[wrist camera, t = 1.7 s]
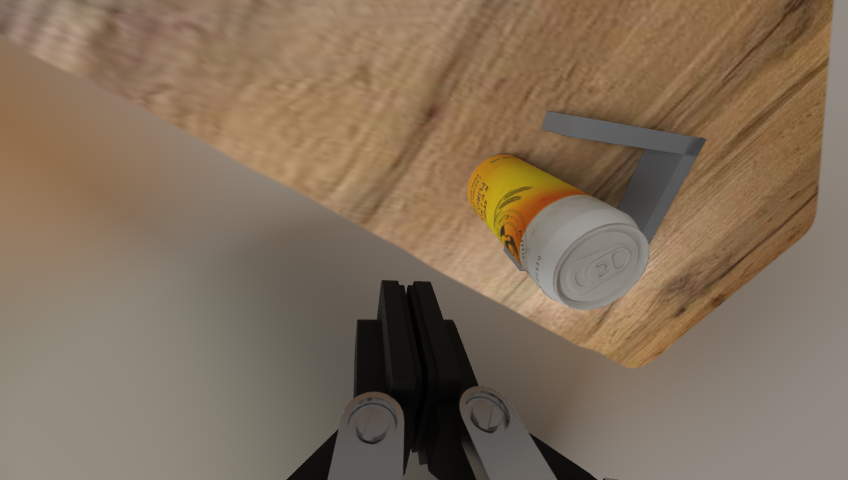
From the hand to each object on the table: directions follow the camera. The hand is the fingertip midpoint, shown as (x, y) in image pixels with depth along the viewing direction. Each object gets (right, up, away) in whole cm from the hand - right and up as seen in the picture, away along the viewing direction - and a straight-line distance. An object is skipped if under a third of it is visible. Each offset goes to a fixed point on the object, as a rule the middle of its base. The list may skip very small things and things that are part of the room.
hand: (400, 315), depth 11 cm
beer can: (+8, +8, +19) cm, 22 cm away
